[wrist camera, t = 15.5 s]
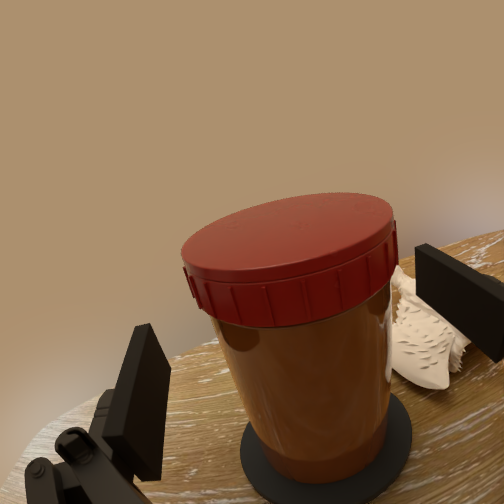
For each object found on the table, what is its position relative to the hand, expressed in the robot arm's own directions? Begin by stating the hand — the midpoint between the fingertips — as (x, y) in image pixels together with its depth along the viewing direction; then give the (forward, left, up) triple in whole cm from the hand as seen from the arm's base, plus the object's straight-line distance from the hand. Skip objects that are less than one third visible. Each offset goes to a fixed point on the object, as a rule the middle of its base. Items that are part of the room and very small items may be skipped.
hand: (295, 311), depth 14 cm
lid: (0, -2, +4) cm, 5 cm away
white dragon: (+11, +2, -8) cm, 14 cm away
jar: (0, -2, -7) cm, 7 cm away
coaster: (0, -2, -8) cm, 8 cm away
